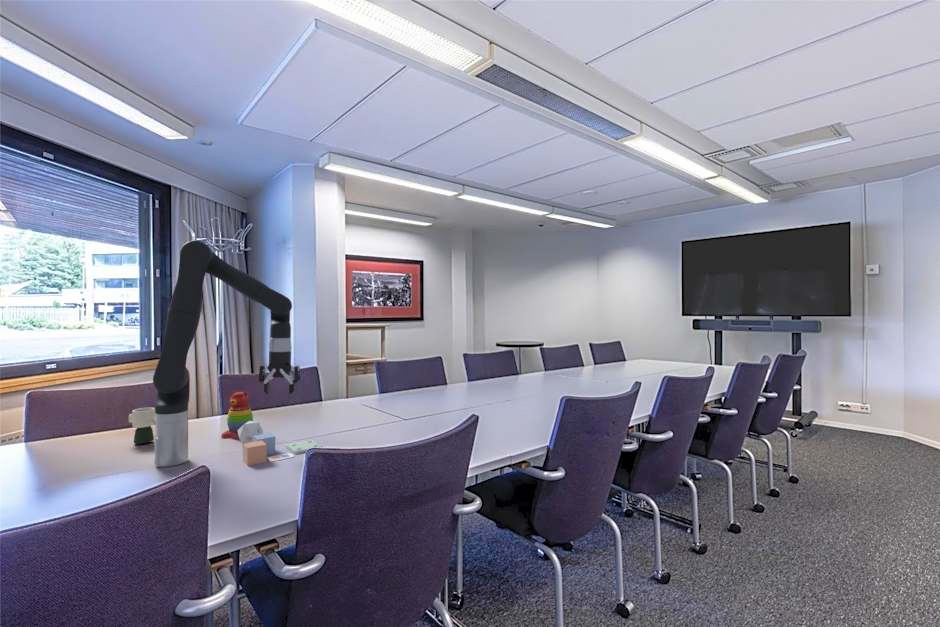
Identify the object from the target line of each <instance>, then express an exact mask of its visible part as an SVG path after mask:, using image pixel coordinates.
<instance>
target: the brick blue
mask: <svg viewBox="0 0 940 627" xmlns="http://www.w3.org/2000/svg"><path fill="white" fill-rule="evenodd" d="M261 440H262V441H263V442H264V443H265V444H267V455H271V454H272V455H273V454H276V436H275V435H274V434H273V433H272V432H268V433H263V434H261V435H254V436H253V442H255V441H261Z"/></svg>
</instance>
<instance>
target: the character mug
mask: <svg viewBox="0 0 940 627" xmlns="http://www.w3.org/2000/svg"><path fill="white" fill-rule="evenodd" d="M128 423H129V424H130V423H131V424H132V425H131V426H132V428H134V429H135V428H136V429H135V431H134V436H133V443H134V444H136V445H142V444H149V443H151V442H152V441H155V435H154V430H153V426H155V407H150V406H149V407H140V408H135V409H133V410H132V413H129V414H128Z"/></svg>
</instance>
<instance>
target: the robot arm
mask: <svg viewBox="0 0 940 627" xmlns="http://www.w3.org/2000/svg"><path fill="white" fill-rule="evenodd" d="M177 273H178V274H177V280H176V283H175V287H174V288H173V293H172V295H171V299H170V303H169V306H168V312H167V316H166V321H165V327H164V333H163V341H162V347H161V348H162V349H161V351H160V356H159V359H158V362H157V364H156V367H155V370H154V374H153V376H152V383H153V386H154V387H155V389H156V390H157V398H156V403H155V406H154V408H155V423H154V427H155V431H154V432H155V433H154V465H155V467H156V468H161V467H164V468H165V467H173V466H178V465H181V464H184V463H187V462H188V461H189V403H190V387H191V386H190V385H191V384H190V382H191V381H190V372H189V369H188V368H187V367H186V365H187V359H188V353H189V350H190V347H191V345H192V343H193V341H194V338H195V337H196V333H197V330H198V327H199V324H200V320H201V314H202V308H203V306H202V305H203V286H204V279H205V276H206V274H209V275H210V276H213V277H215V278H217V279H219V280H220V281H222V282H223V283H225V284H227V285H228V286H230V287H231V288H232V289H234V290H235V291H237V292H239V293H240V294H242V295H243V296H245V297H246V298H248V299H249V300H252V301H253V302H256V303H258V304H261V305H262V306H264V307H265V308H266V309H268V310H269V312H270V331H269V343H268V365H265V364H263V365H260V366H259V369H258V370H259V371H258V382H259V383H263V392H264V393H265V395H269V394H270V393H271V383H270V382H271V381H272V380H273V378H275V379H276V378H281V379H282V378H285V380H287V381H288V383H289V385H288V394H289V395H293V393H295V390H296V389H295V388H296V387H295V386H296V385H295V384H296V383H299V382H300V381H301V367H300V365H294V366H292V341H291V340H292V338H291V335H292V334H291V333H292V329H291V328H292V327H291V323H290V320H291V319H290V318H291V310H292V308H293V303H292V301H291V299H290V298H288V297H287V296H286V295H284V294H282V293H281V292H278V291H276V290H275V289H272V288H270V287H269V286H268V285H266V283H264V282H262V281H260V280H259V279H257V278H255V277H254V276H252V275H250V274H248V273H246V272H244V271H242V270H240V269H238V268H235V267H234V266H233V265H231V264H229V263H228V262H226V261H225V260H223V258H221V257H219V256H218V255H217V254H216V253H214V251H212V249H211V248H210V247H209V245H208V244H206V243H205V242H203V241H200V240H197V239H196V240H190V241H187V242H186V243H184V244H183V245H182V246H181V249H180V252H179V264H178V272H177ZM267 371H269V374H268V375H267V376H266V372H267ZM291 371H292V372H293V374H294V377H293V374H291Z"/></svg>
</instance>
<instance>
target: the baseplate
mask: <svg viewBox="0 0 940 627" xmlns="http://www.w3.org/2000/svg"><path fill="white" fill-rule="evenodd" d="M313 447H322V448H323V445H321V444H320V443H318V442H317V441H315V440H313V439H311V440H305V441H298V442H293V443H289V444H285V448H286V449H288V450H289V451H290V453H293V455H298V454H302V453H307V452H306V451H307V449H309V448H313Z"/></svg>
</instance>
